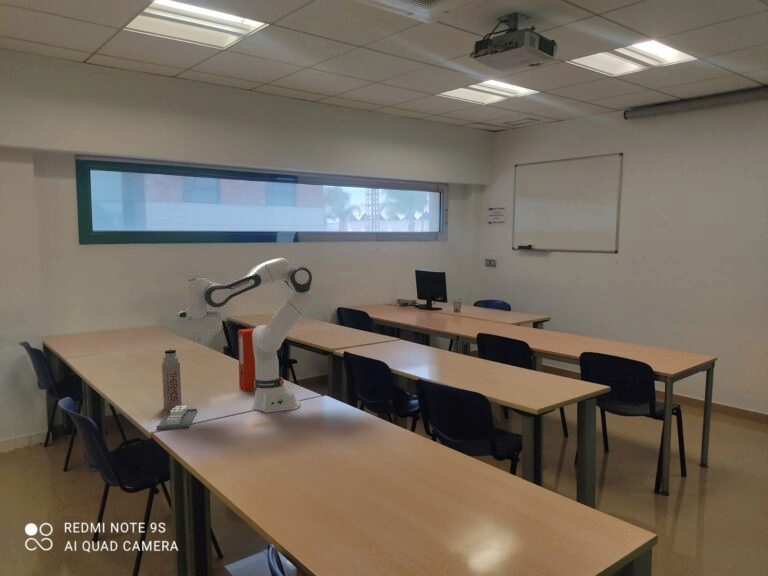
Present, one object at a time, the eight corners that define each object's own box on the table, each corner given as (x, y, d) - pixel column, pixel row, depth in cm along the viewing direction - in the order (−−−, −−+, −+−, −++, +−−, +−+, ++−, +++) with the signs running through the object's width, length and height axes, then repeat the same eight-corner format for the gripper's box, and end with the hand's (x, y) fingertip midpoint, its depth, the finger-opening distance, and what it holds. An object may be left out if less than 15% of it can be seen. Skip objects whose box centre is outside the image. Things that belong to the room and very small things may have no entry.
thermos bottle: (180, 409, 254) (178, 351, 251) (162, 411, 252) (160, 352, 249) (182, 404, 262) (180, 348, 259) (165, 405, 259) (162, 349, 257)
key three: (181, 420, 235) (181, 415, 235) (179, 424, 230) (179, 419, 230) (169, 421, 234) (169, 415, 234) (167, 425, 229) (166, 419, 229)
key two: (184, 412, 242) (184, 407, 241) (182, 416, 237) (182, 410, 237) (172, 413, 241) (172, 407, 241) (170, 417, 236) (170, 411, 236)
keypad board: (196, 412, 250) (196, 408, 250) (188, 428, 230) (188, 424, 230) (167, 413, 248) (167, 409, 248) (156, 430, 228) (156, 426, 228)
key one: (187, 410, 249) (187, 405, 248) (185, 413, 244) (185, 408, 244) (176, 410, 248) (176, 405, 248) (173, 414, 243) (173, 409, 243)
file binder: (275, 385, 293) (273, 328, 290) (244, 391, 283) (243, 331, 280) (269, 382, 300) (267, 326, 297) (239, 387, 290) (237, 329, 287)
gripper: (221, 310, 253) (223, 338, 254) (176, 312, 249) (178, 341, 251) (219, 312, 246) (221, 341, 248) (173, 314, 243) (175, 344, 244)
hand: (199, 341), depth 249 cm, fingers closed
